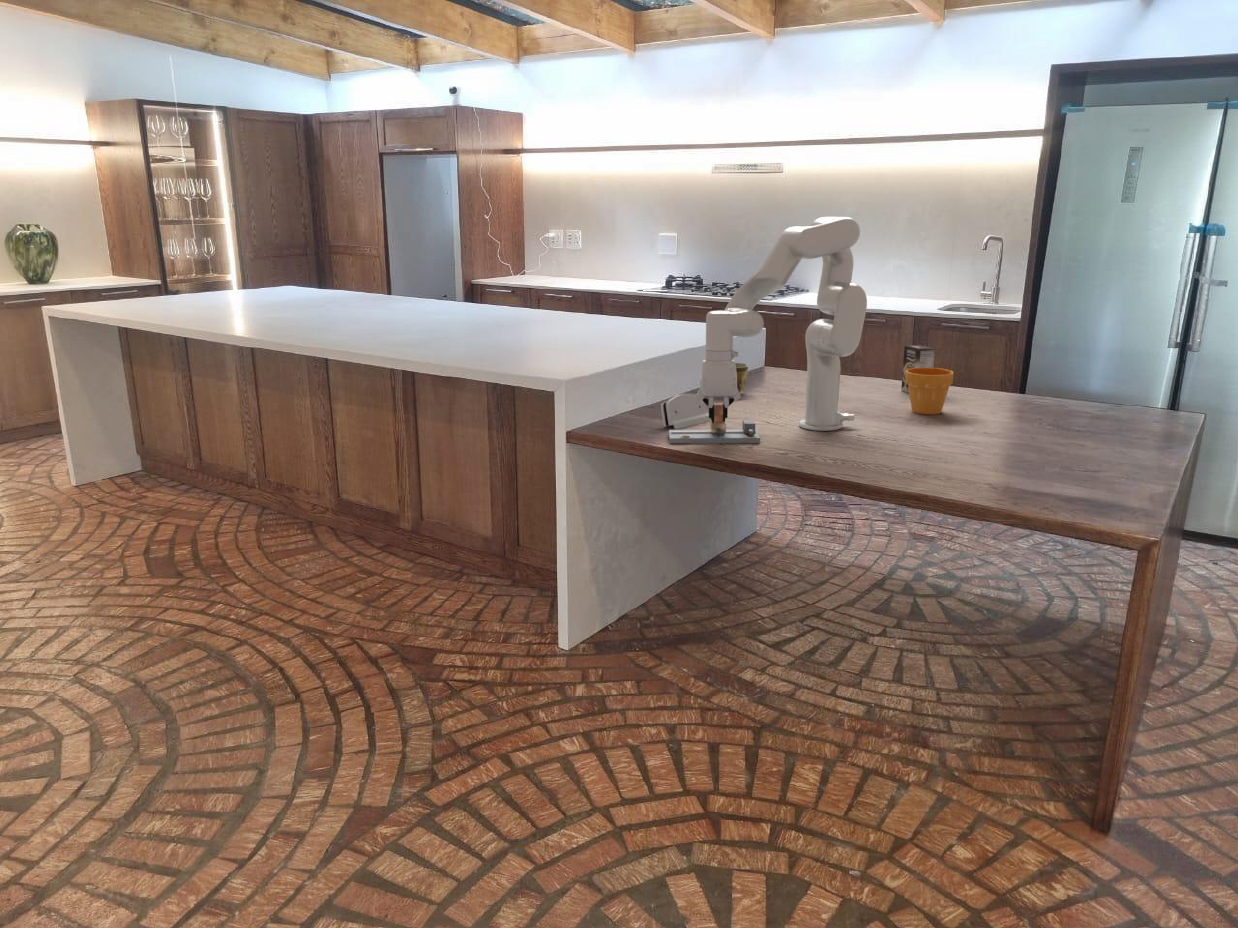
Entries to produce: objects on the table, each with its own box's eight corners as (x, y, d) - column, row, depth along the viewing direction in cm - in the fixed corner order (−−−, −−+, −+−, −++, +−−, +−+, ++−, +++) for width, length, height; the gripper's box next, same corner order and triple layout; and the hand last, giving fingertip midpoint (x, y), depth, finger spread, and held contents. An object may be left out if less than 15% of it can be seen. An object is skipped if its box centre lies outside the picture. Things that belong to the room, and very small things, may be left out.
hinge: (675, 429, 264) (667, 396, 264) (664, 432, 267) (656, 399, 267) (712, 420, 274) (705, 388, 274) (702, 423, 278) (694, 392, 278)
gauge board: (755, 434, 257) (756, 418, 255) (760, 443, 247) (760, 426, 246) (668, 434, 257) (668, 419, 256) (670, 443, 247) (670, 427, 246)
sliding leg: (724, 429, 255) (724, 402, 253) (726, 436, 247) (727, 409, 245) (710, 429, 255) (710, 402, 253) (712, 437, 247) (712, 409, 245)
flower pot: (904, 415, 277) (907, 374, 274) (901, 406, 291) (904, 366, 287) (952, 417, 274) (956, 375, 271) (947, 407, 287) (951, 368, 284)
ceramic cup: (751, 392, 316) (752, 364, 313) (740, 397, 308) (740, 368, 305) (718, 388, 323) (719, 361, 320) (706, 393, 315) (706, 365, 312)
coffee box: (900, 390, 315) (903, 345, 311) (915, 389, 317) (919, 344, 313) (915, 395, 307) (919, 348, 303) (931, 394, 309) (935, 347, 304)
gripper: (746, 353, 250) (744, 417, 255) (689, 354, 251) (688, 418, 256) (749, 357, 243) (748, 423, 248) (690, 358, 243) (690, 424, 248)
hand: (717, 420), depth 252 cm, fingers closed on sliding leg, 2 cm apart
